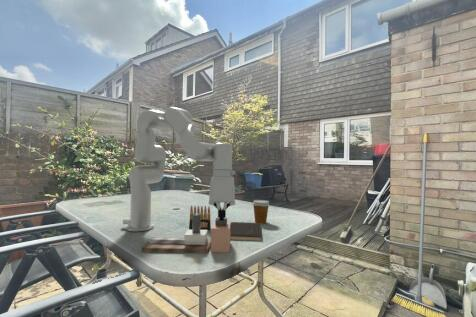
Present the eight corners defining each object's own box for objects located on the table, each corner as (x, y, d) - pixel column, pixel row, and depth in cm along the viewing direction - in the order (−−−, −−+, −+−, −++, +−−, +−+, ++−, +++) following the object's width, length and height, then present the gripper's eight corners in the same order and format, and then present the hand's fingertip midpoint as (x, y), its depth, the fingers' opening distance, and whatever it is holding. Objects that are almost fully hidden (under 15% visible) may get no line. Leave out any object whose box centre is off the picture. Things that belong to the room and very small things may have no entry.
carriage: (184, 245, 92) (184, 216, 92) (188, 239, 99) (188, 212, 99) (204, 245, 92) (205, 217, 92) (207, 239, 99) (207, 213, 99)
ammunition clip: (188, 229, 119) (189, 205, 119) (189, 228, 120) (190, 205, 120) (210, 230, 118) (210, 206, 118) (210, 229, 120) (211, 205, 120)
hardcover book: (260, 227, 127) (260, 223, 127) (261, 241, 104) (261, 236, 104) (230, 226, 128) (230, 221, 128) (225, 240, 105) (225, 235, 105)
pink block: (210, 252, 90) (211, 228, 90) (213, 242, 100) (214, 221, 100) (229, 252, 90) (229, 228, 90) (230, 243, 100) (230, 221, 100)
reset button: (215, 234, 93) (215, 220, 93) (216, 231, 98) (216, 217, 98) (226, 234, 93) (226, 220, 93) (227, 231, 97) (227, 218, 98)
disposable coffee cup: (249, 220, 137) (249, 200, 138) (263, 219, 141) (263, 199, 142) (257, 225, 129) (257, 203, 129) (272, 223, 133) (272, 202, 133)
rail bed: (141, 251, 89) (141, 243, 89) (153, 240, 101) (153, 233, 101) (207, 253, 89) (207, 245, 89) (211, 242, 101) (211, 234, 101)
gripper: (240, 173, 99) (240, 217, 99) (205, 173, 99) (204, 217, 99) (240, 174, 92) (240, 222, 91) (202, 174, 92) (201, 221, 92)
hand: (221, 219), depth 95 cm, fingers closed
